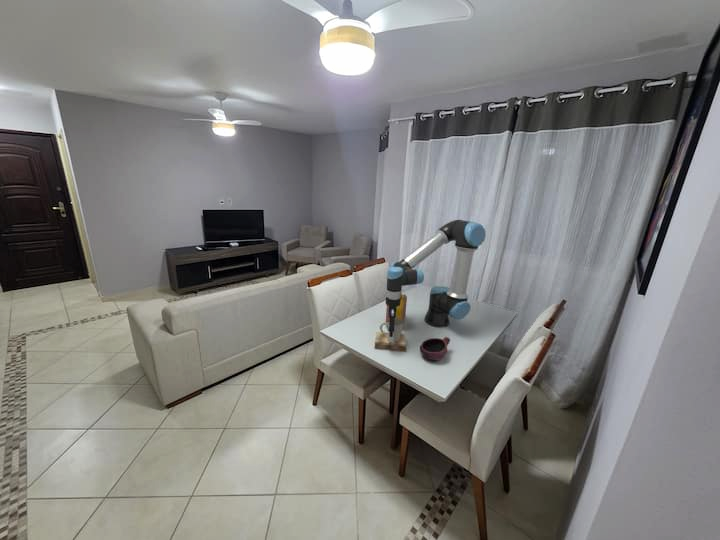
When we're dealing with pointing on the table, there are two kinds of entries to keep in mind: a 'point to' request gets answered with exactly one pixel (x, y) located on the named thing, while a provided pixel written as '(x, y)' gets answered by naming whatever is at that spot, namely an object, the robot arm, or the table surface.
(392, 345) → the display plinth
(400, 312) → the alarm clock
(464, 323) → the table surface
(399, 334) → the mug
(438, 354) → the bowl
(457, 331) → the table surface
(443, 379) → the table surface
